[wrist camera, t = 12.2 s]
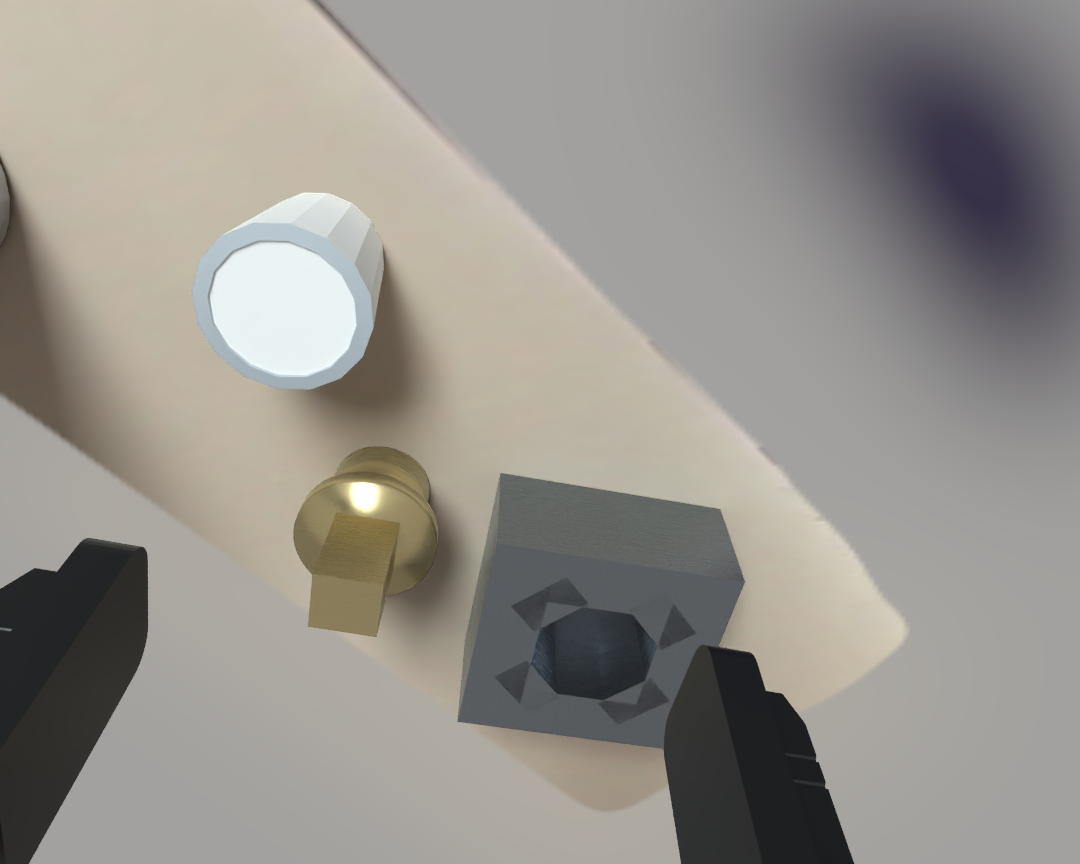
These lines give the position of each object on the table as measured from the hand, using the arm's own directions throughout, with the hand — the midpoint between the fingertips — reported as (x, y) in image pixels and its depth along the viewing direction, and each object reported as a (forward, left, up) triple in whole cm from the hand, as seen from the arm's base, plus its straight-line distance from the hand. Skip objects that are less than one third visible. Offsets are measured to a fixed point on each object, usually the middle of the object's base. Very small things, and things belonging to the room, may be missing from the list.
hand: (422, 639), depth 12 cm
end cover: (-3, -17, -28) cm, 33 cm away
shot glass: (-7, -5, -28) cm, 29 cm away
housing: (+9, -21, -28) cm, 36 cm away
